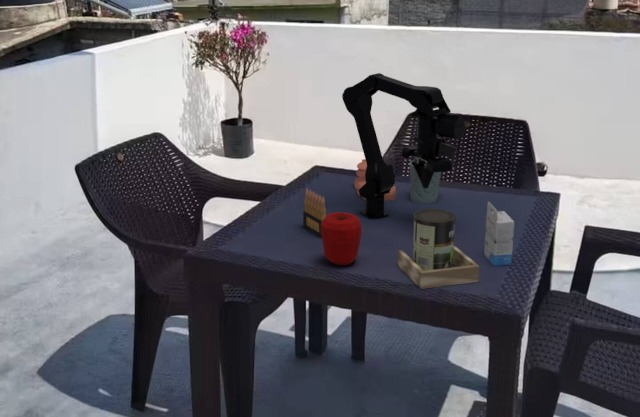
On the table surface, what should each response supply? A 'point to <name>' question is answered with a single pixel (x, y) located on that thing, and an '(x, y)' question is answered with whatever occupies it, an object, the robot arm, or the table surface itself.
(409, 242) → the table surface
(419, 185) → the green cup
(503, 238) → the ink box
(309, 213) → the ammunition clip
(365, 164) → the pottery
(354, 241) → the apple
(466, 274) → the corral
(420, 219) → the coffee can
